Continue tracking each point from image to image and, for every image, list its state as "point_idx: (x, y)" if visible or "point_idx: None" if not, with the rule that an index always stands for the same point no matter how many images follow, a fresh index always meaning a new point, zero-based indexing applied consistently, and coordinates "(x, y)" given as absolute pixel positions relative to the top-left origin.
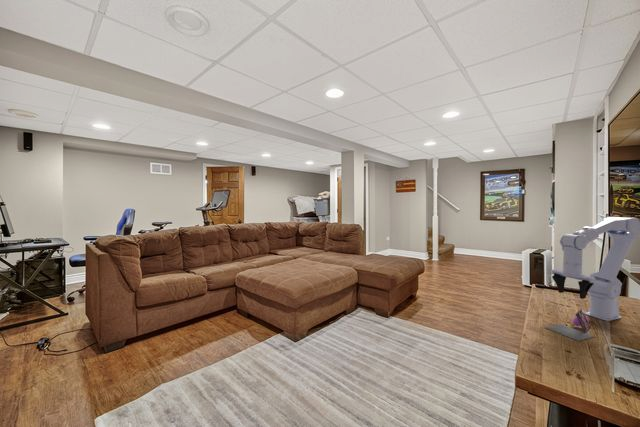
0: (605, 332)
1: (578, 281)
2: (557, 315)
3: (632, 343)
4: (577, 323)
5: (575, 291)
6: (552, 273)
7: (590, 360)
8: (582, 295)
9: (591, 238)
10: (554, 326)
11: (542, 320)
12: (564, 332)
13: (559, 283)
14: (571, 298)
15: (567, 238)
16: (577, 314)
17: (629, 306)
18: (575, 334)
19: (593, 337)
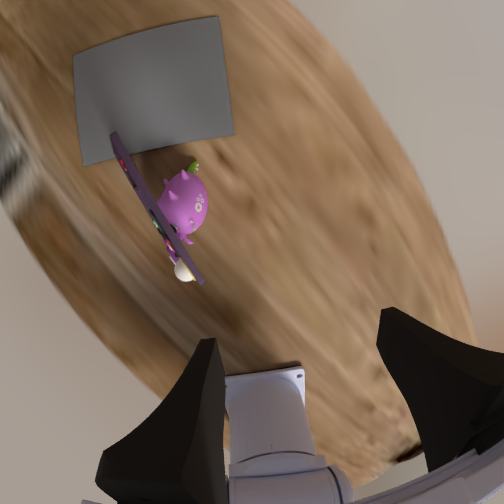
0: (121, 264)
1: (180, 486)
2: (334, 239)
3: (40, 260)
4: (170, 181)
5: (413, 451)
6: None
7: (4, 11)
8: (192, 362)
9: None
10: (213, 67)
11: (304, 90)
12: (143, 56)
13: (435, 362)
14: (402, 422)
15: None
16: (122, 154)
17: None
18: (113, 90)
19: (83, 155)
